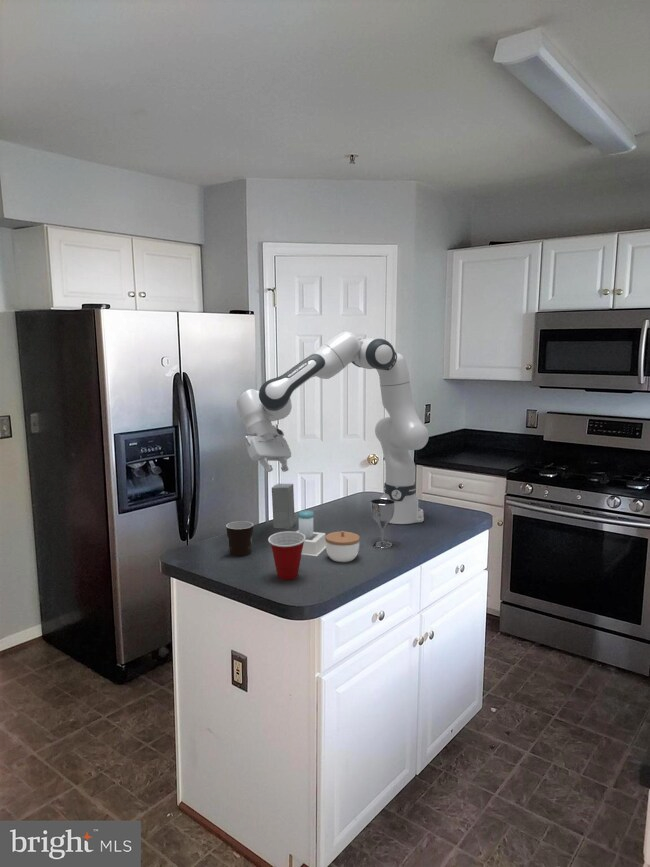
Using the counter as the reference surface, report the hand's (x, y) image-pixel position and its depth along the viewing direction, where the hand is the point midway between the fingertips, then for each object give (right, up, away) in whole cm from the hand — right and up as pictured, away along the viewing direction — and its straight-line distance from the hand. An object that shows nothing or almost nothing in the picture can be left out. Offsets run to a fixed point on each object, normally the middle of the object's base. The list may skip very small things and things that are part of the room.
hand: (278, 471), depth 201 cm
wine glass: (+35, -25, +3) cm, 43 cm away
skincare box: (0, -22, +23) cm, 32 cm away
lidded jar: (+21, -27, -12) cm, 36 cm away
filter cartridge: (+9, -25, -3) cm, 27 cm away
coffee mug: (-11, -26, -6) cm, 29 cm away
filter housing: (+9, -26, -2) cm, 27 cm away
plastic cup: (+5, -29, -25) cm, 39 cm away
